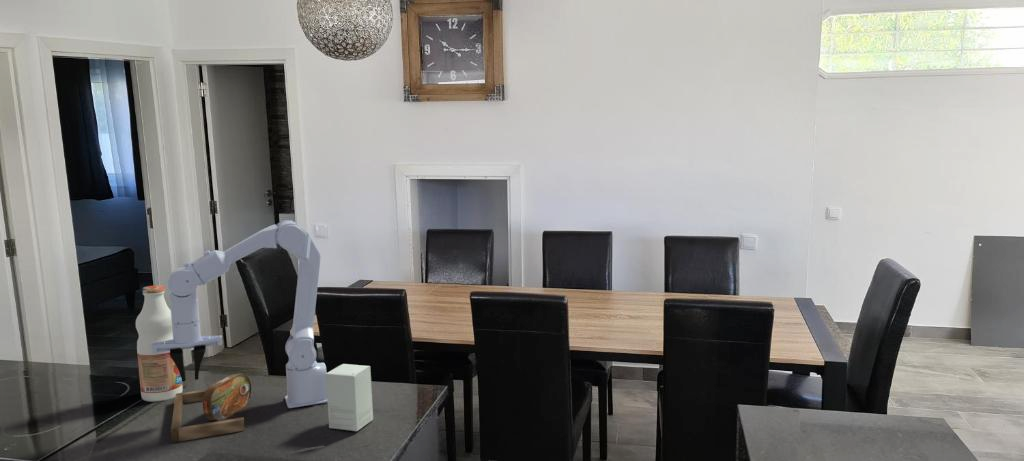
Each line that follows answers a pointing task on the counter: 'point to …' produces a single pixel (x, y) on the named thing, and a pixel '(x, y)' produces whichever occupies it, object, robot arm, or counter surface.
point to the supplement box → (349, 397)
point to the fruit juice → (158, 368)
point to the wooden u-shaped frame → (200, 429)
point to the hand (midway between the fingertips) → (190, 379)
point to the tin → (226, 397)
